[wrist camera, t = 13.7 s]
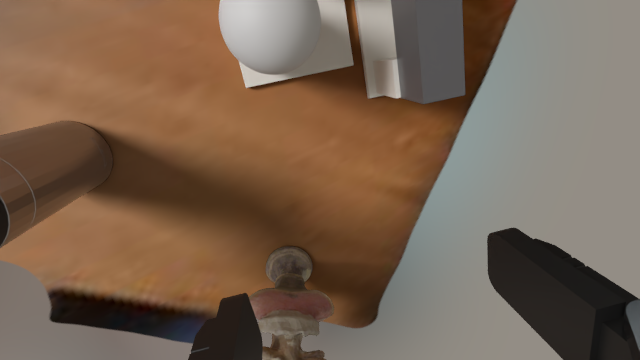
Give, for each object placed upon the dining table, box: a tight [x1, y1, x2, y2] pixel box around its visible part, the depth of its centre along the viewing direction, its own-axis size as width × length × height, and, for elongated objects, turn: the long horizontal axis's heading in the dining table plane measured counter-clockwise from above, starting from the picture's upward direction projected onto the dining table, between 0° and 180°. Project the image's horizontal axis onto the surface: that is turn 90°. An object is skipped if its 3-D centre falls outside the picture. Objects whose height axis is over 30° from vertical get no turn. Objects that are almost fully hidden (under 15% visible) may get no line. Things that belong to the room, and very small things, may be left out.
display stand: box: [219, 0, 401, 98], centre depth 31 cm, size 22×19×19 cm
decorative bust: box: [249, 246, 334, 360], centre depth 40 cm, size 11×13×25 cm
